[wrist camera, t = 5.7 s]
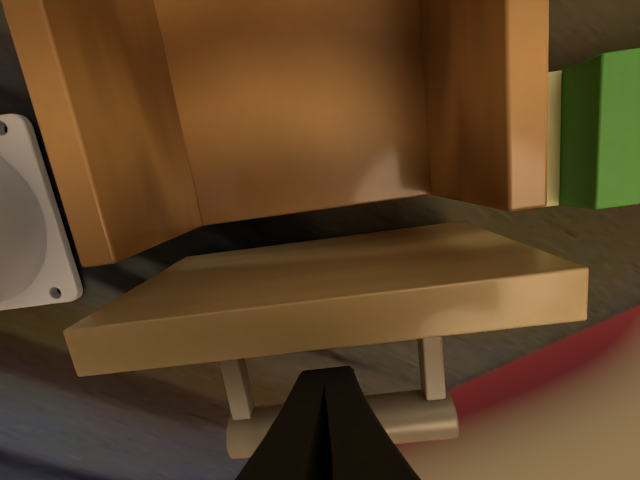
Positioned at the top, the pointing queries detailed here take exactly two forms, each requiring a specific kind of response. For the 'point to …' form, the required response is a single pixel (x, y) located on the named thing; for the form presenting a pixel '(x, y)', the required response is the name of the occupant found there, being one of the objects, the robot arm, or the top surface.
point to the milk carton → (595, 132)
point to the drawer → (298, 178)
